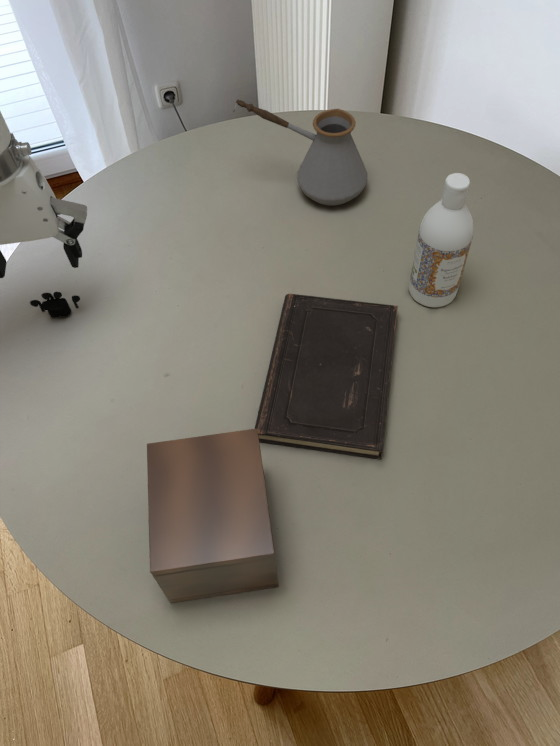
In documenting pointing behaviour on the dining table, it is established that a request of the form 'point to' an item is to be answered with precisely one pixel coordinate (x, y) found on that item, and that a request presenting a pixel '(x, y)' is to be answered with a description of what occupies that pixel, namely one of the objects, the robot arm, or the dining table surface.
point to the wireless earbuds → (55, 304)
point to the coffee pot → (326, 156)
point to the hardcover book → (329, 376)
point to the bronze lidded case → (209, 516)
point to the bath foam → (442, 246)
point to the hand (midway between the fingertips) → (39, 265)
